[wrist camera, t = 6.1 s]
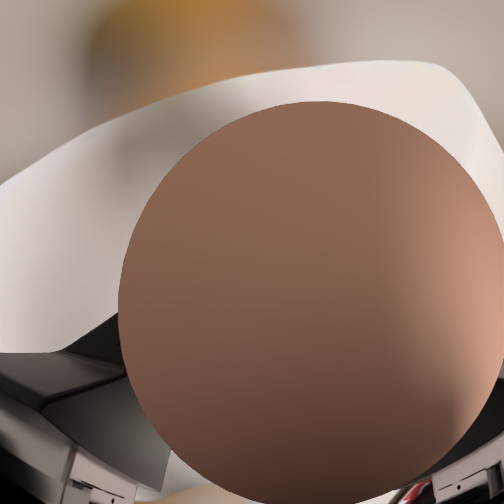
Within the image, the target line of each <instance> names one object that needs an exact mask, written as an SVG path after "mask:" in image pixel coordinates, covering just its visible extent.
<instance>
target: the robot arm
mask: <svg viewBox="0 0 504 504" xmlns="http://www.w3.org/2000/svg"><path fill="white" fill-rule="evenodd" d="M170 451H171V448H170V447H169V446H168V445H167V444H166V443H165V442H164V440H163V439H162V438H161V437H160V436H159V434H158V433H157V431H156V430H155V428H154V427H153V425H152V424H151V422H150V421H149V419H148V418H147V416H146V415H145V413H144V412H143V410H142V407H141V405H140V403H139V401H138V399H137V397H136V395H135V393H134V390H133V388H132V386H131V383H130V380H129V377H128V373H127V370H126V367H125V363H124V360H123V356H122V350H121V343H120V336H119V328H118V312H117V313H116V314H115V315H113V316H112V317H111V318H109V319H108V320H106V321H105V322H103V323H102V324H100V325H99V326H98V327H96V328H95V329H93V330H92V331H90V332H89V333H87V334H86V335H84V336H83V337H81V338H80V339H78V340H77V341H75V342H74V343H72V344H71V345H69V346H67V347H66V348H64V349H62V350H59V351H56V352H51V353H0V504H134V500H135V495H136V490H137V487H141V488H144V489H148V490H152V491H156V492H161V489H162V484H163V480H164V476H165V472H166V467H167V463H168V459H169V455H170ZM430 479H432V484H433V491H434V497H436V503H435V504H504V360H503V363H502V366H501V369H500V372H499V375H498V377H497V380H496V382H495V384H494V387H493V389H492V391H491V393H490V396H489V397H488V399H487V401H486V403H485V405H484V406H483V408H482V410H481V411H480V413H479V415H478V416H477V418H476V419H475V421H474V422H473V423H472V425H471V426H470V427H469V429H468V430H467V431H466V433H465V434H464V435H463V437H462V438H461V439H460V440H459V441H458V442H457V443H456V444H455V445H454V446H453V447H452V448H451V449H450V450H449V452H448V453H447V454H445V455H444V456H443V457H442V458H441V459H440V460H439V461H437V462H436V463H435V464H434V465H432V466H431V467H430V468H429V469H428V470H426V471H425V472H423V473H422V474H420V475H419V476H417V477H416V478H414V479H412V480H411V481H409V482H408V483H406V484H404V485H402V486H400V487H398V488H396V489H394V490H398V489H401V488H405V487H408V486H412V485H415V484H418V483H421V482H424V481H427V480H430Z"/></svg>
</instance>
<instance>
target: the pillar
mask: <svg viewBox="0 0 504 504" xmlns="http://www.w3.org/2000/svg"><path fill="white" fill-rule="evenodd" d="M118 328H119V336H120V343H121V350H122V356H123V360H124V363H125V367H126V370H127V373H128V377H129V380H130V383H131V386H132V388H133V390H134V393H135V395H136V397H137V399H138V401H139V403H140V405H141V407H142V410H143V412H144V413H145V415H146V416H147V418H148V419H149V421H150V422H151V424H152V425H153V427H154V428H155V430H156V431H157V433H158V434H159V436H160V437H161V438H162V439H163V440H164V442H165V443H166V444H167V445H168V446H169V447H170V448H171V449H172V450H173V451H174V452H175V454H176V455H177V456H178V457H179V458H180V459H181V460H183V461H184V462H185V463H186V464H187V465H189V466H190V467H191V468H192V469H194V470H195V471H196V472H198V473H199V474H200V475H201V476H203V477H204V478H206V479H208V480H209V481H211V482H213V483H214V484H216V485H218V486H220V487H222V488H223V489H225V490H227V491H229V492H232V493H234V494H237V495H239V496H242V497H244V498H247V499H250V500H252V501H256V502H260V503H264V504H355V503H359V502H363V501H366V500H369V499H372V498H375V497H378V496H381V495H383V494H385V493H388V492H390V491H392V490H394V489H396V488H398V487H400V486H402V485H404V484H406V483H408V482H409V481H411V480H412V479H414V478H416V477H417V476H419V475H420V474H422V473H423V472H425V471H426V470H428V469H429V468H430V467H431V466H432V465H434V464H435V463H436V462H437V461H439V460H440V459H441V458H442V457H443V456H444V455H445V454H447V453H448V452H449V450H450V449H451V448H452V447H453V446H454V445H455V444H456V443H457V442H458V441H459V440H460V439H461V438H462V437H463V435H464V434H465V433H466V431H467V430H468V429H469V427H470V426H471V425H472V423H473V422H474V421H475V419H476V418H477V416H478V415H479V413H480V411H481V410H482V408H483V406H484V405H485V403H486V401H487V399H488V397H489V396H490V393H491V391H492V389H493V387H494V384H495V382H496V380H497V377H498V375H499V372H500V369H501V366H502V363H503V360H504V242H503V239H502V236H501V233H500V230H499V228H498V225H497V222H496V220H495V217H494V215H493V213H492V211H491V209H490V207H489V205H488V203H487V202H486V200H485V198H484V196H483V194H482V193H481V191H480V190H479V188H478V187H477V185H476V184H475V182H474V181H473V180H472V178H471V177H470V175H469V174H468V173H467V172H466V171H465V170H464V168H463V167H462V166H461V165H460V164H459V163H458V162H457V160H456V159H455V158H454V157H453V156H451V155H450V154H449V153H448V152H447V151H446V150H445V149H444V148H443V147H442V146H440V145H439V144H438V143H437V142H436V141H434V140H433V139H431V138H430V137H429V136H427V135H426V134H424V133H423V132H421V131H420V130H418V129H417V128H415V127H413V126H411V125H409V124H408V123H406V122H404V121H402V120H400V119H398V118H395V117H393V116H390V115H388V114H385V113H383V112H380V111H378V110H374V109H370V108H366V107H362V106H358V105H354V104H347V103H339V102H328V101H322V102H299V103H292V104H285V105H279V106H275V107H272V108H268V109H265V110H261V111H258V112H255V113H252V114H250V115H248V116H245V117H243V118H241V119H238V120H236V121H234V122H232V123H230V124H228V125H226V126H225V127H223V128H221V129H220V130H218V131H216V132H215V133H213V134H212V135H210V136H208V137H207V138H205V139H204V140H203V141H202V142H200V143H199V144H198V145H197V146H196V147H194V148H193V149H192V150H191V151H190V152H188V153H187V154H186V155H185V156H184V157H183V158H182V159H181V160H180V161H179V162H178V163H177V164H176V165H175V166H174V167H173V169H172V170H171V171H170V172H169V173H168V174H167V175H166V176H165V178H164V179H163V180H162V182H161V183H160V185H159V186H158V187H157V189H156V190H155V192H154V193H153V195H152V196H151V198H150V199H149V201H148V202H147V204H146V206H145V208H144V210H143V212H142V214H141V216H140V218H139V220H138V222H137V224H136V226H135V228H134V231H133V233H132V236H131V239H130V242H129V246H128V249H127V252H126V255H125V258H124V262H123V268H122V273H121V279H120V286H119V294H118Z"/></svg>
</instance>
